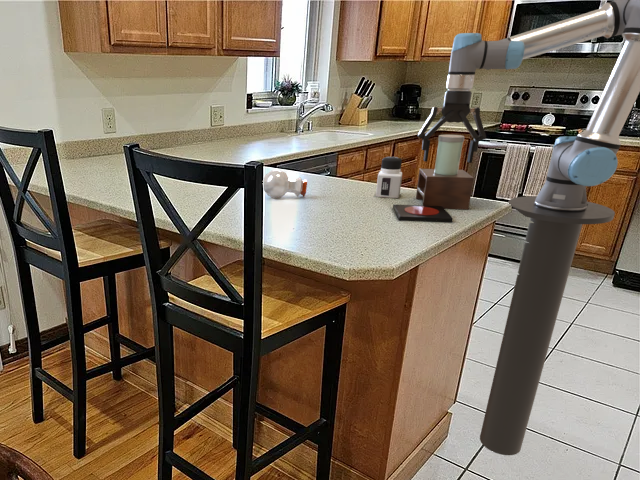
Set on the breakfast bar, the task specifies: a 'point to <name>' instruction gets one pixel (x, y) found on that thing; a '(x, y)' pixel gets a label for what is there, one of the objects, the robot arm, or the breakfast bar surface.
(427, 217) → the hob plate
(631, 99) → the robot arm
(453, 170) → the jar
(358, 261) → the breakfast bar surface
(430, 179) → the brown box
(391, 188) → the container
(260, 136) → the breakfast bar surface
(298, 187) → the potion bottle
